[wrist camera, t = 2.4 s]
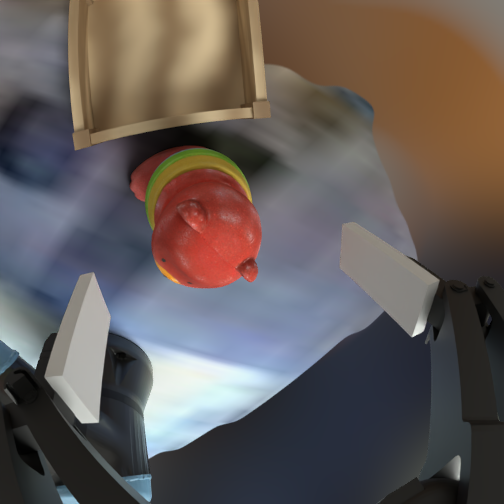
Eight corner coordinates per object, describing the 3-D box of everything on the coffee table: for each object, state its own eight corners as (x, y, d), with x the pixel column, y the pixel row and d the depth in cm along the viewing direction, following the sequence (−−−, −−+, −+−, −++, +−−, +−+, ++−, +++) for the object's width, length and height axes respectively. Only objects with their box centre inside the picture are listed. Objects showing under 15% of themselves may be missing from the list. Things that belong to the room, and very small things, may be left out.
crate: (89, 145, 26) (75, 150, 21) (81, 0, 18) (69, -18, 13) (253, 117, 30) (270, 117, 25) (241, -21, 22) (255, -41, 17)
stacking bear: (122, 179, 29) (81, 243, 13) (197, 121, 28) (238, 119, 13) (181, 248, 34) (203, 356, 19) (250, 197, 34) (328, 269, 19)
